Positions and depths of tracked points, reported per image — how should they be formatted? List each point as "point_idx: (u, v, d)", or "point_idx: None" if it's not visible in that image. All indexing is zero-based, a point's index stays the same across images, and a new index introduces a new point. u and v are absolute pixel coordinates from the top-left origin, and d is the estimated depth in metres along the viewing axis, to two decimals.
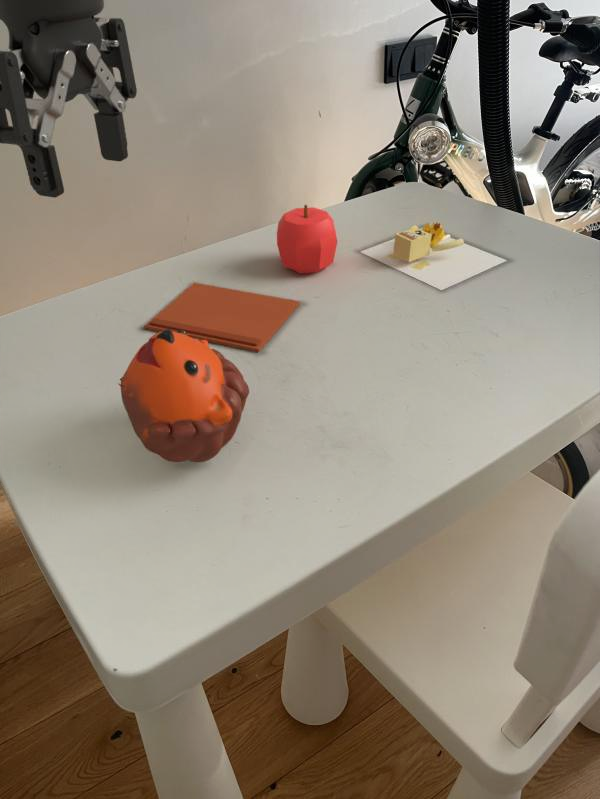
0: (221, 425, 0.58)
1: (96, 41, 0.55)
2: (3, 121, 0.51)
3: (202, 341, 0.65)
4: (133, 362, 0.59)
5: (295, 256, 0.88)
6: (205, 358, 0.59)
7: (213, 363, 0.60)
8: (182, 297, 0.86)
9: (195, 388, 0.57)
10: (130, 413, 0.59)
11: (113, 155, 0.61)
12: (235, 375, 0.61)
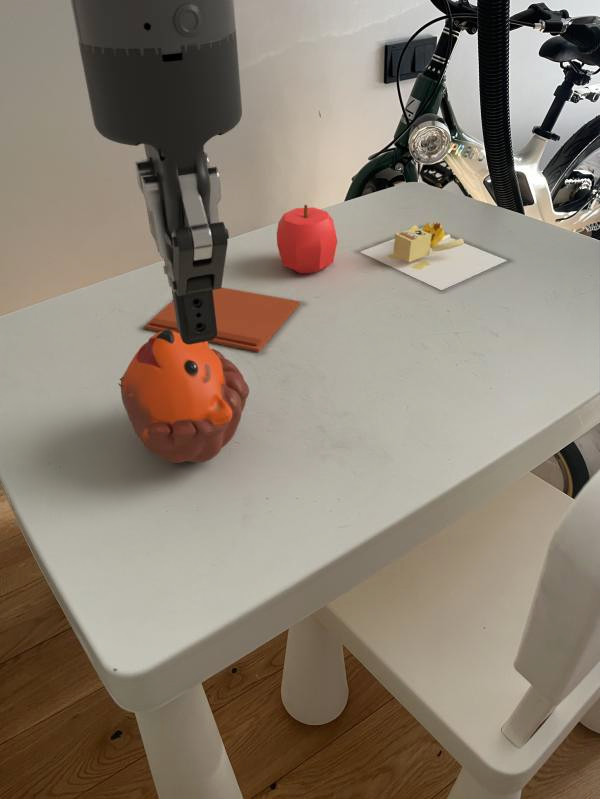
0: (221, 425, 0.58)
1: None
2: None
3: None
4: (133, 362, 0.59)
5: (295, 256, 0.88)
6: (205, 358, 0.59)
7: (213, 363, 0.60)
8: None
9: (195, 388, 0.57)
10: (130, 413, 0.59)
11: None
12: (235, 375, 0.61)
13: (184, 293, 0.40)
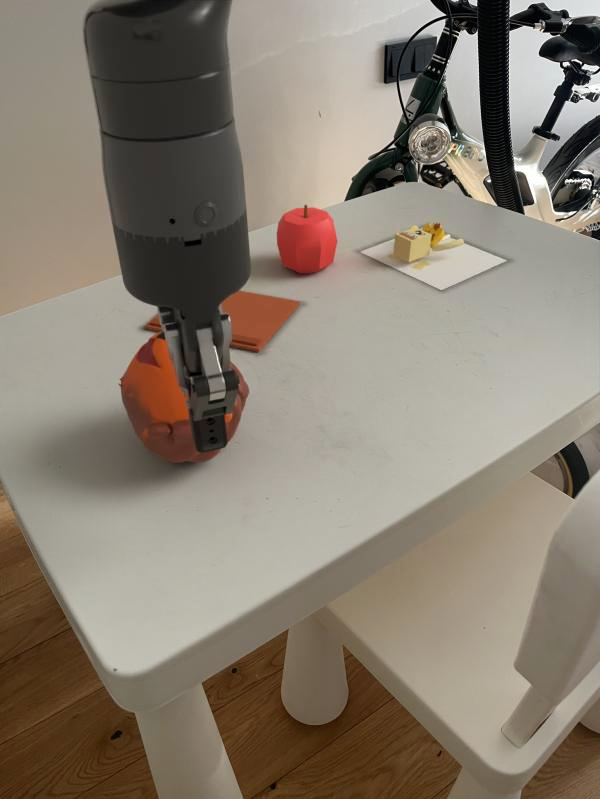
0: None
1: None
2: None
3: None
4: (133, 362, 0.59)
5: (295, 256, 0.88)
6: None
7: None
8: None
9: None
10: (130, 413, 0.59)
11: None
12: None
13: (200, 419, 0.46)
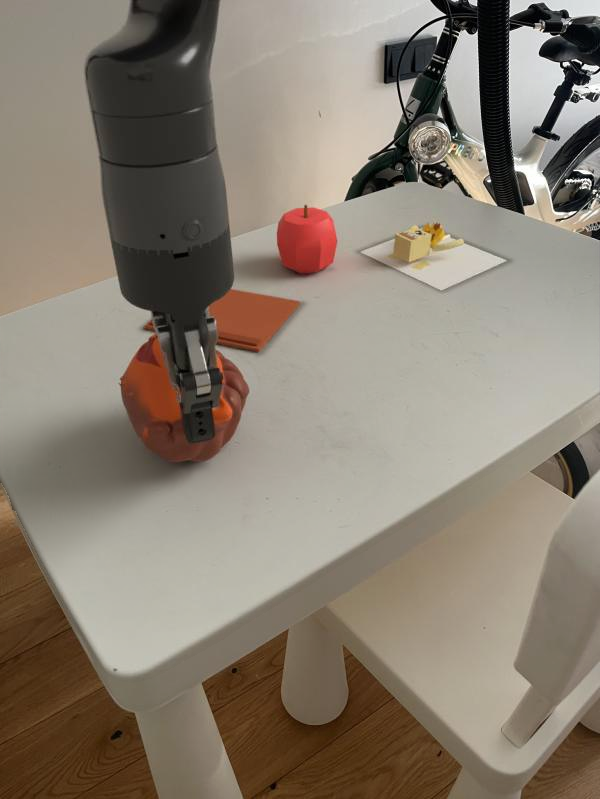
0: (221, 424, 0.58)
1: None
2: None
3: None
4: (133, 361, 0.59)
5: (295, 256, 0.88)
6: None
7: None
8: None
9: None
10: (130, 412, 0.59)
11: None
12: (235, 374, 0.61)
13: (189, 412, 0.51)
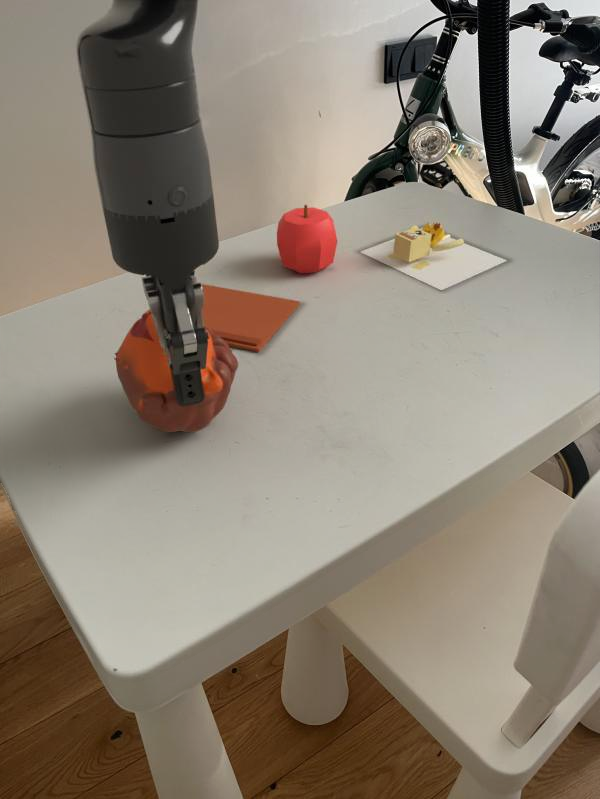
0: (212, 395, 0.61)
1: None
2: None
3: None
4: (127, 337, 0.62)
5: (295, 256, 0.88)
6: None
7: None
8: None
9: None
10: (125, 385, 0.62)
11: None
12: (224, 349, 0.64)
13: (178, 373, 0.54)
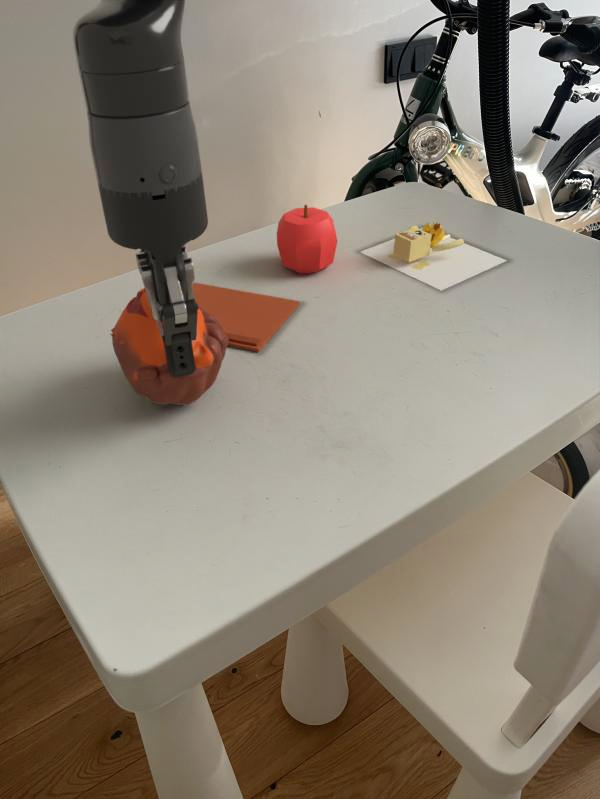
0: (203, 368, 0.64)
1: None
2: None
3: None
4: (123, 313, 0.66)
5: (295, 256, 0.88)
6: None
7: None
8: None
9: None
10: (121, 359, 0.66)
11: None
12: (215, 326, 0.68)
13: (170, 344, 0.58)
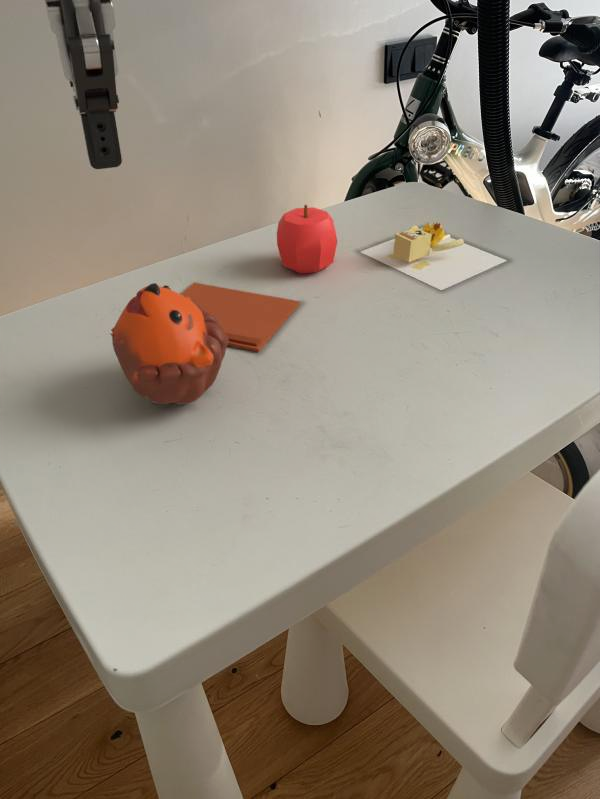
0: (203, 368, 0.65)
1: None
2: None
3: (185, 298, 0.72)
4: (123, 313, 0.66)
5: (295, 256, 0.88)
6: (188, 309, 0.66)
7: (195, 314, 0.66)
8: None
9: (180, 335, 0.64)
10: (121, 359, 0.66)
11: None
12: (215, 325, 0.68)
13: (85, 109, 0.47)
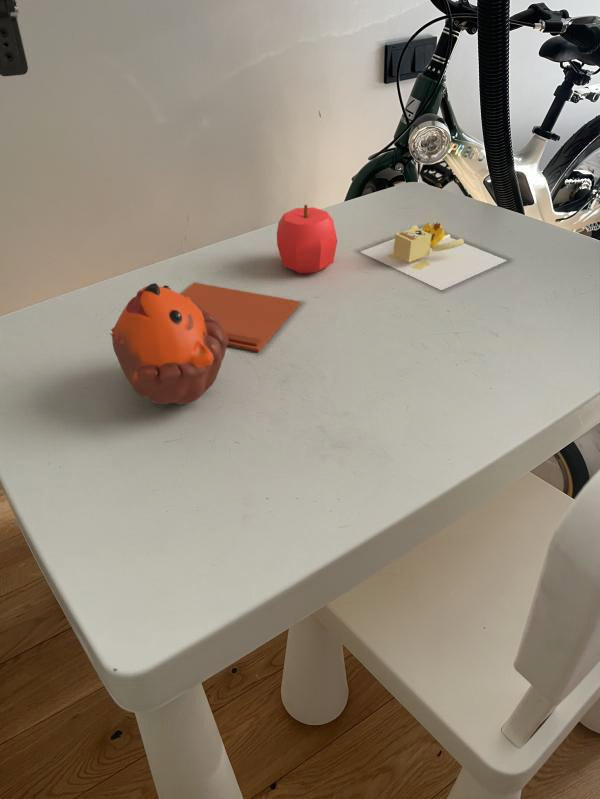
0: (203, 368, 0.65)
1: None
2: None
3: (185, 298, 0.72)
4: (123, 313, 0.66)
5: (295, 256, 0.88)
6: (188, 309, 0.66)
7: (195, 314, 0.66)
8: None
9: (180, 335, 0.64)
10: (121, 359, 0.66)
11: None
12: (215, 325, 0.68)
13: None
